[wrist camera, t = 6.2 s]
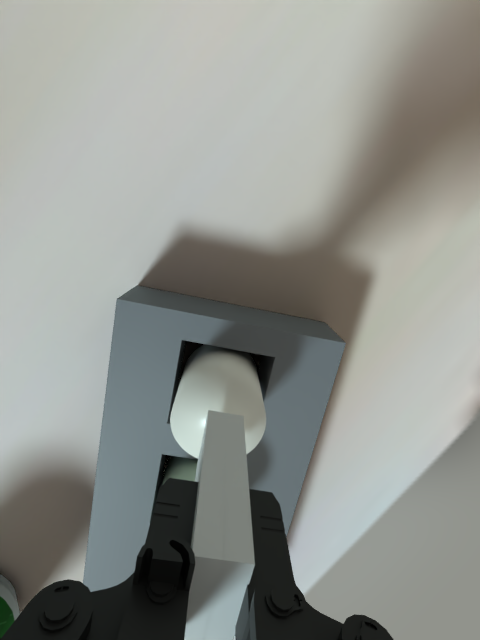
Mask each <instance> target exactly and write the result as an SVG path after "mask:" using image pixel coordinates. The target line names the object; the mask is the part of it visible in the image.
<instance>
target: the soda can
mask: <svg viewBox="0 0 480 640" xmlns="http://www.w3.org/2000/svg"><path fill="white" fill-rule="evenodd" d="M19 614H20V611H19V607H18V602H17V596H16V592H15V589H14V587H13V586H12V584H11V583H10V581H8V580H7V579H6V578H5V577H4V576H2V575H1V574H0V639H1V638H2V636H3V635H4V634H5V633H6V631H7V630H8V629H9V627H10V626H11V625H12V624H13V622H14V621H15V620H16V619H17V617H18V616H19Z"/></svg>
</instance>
